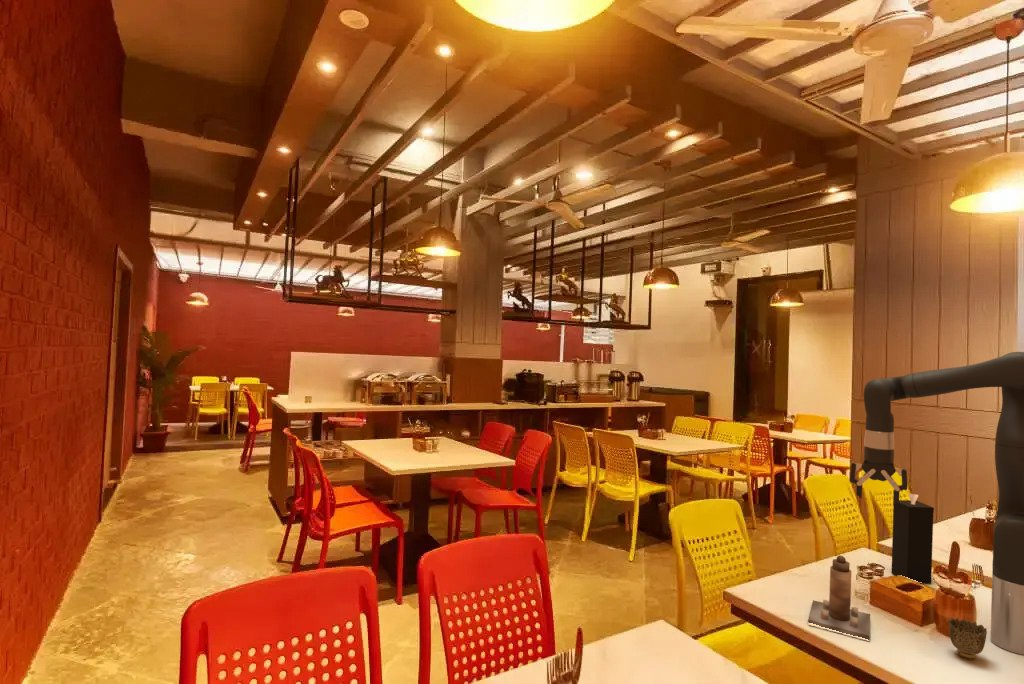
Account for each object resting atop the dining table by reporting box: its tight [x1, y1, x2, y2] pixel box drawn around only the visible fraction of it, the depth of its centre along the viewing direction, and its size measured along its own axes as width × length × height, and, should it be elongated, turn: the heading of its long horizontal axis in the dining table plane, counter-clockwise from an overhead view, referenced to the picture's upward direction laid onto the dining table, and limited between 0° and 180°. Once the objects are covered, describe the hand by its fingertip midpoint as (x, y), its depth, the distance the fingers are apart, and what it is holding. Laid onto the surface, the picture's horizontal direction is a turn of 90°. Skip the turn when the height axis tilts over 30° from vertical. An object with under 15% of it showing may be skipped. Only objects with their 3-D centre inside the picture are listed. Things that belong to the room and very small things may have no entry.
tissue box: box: [891, 493, 935, 585], centre depth 183 cm, size 8×8×28 cm
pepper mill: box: [828, 555, 852, 621], centre depth 153 cm, size 5×5×17 cm
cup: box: [947, 617, 988, 661], centre depth 137 cm, size 8×7×8 cm
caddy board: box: [807, 599, 871, 640], centre depth 153 cm, size 14×14×4 cm
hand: (877, 500), depth 166 cm, fingers open, 8 cm apart
